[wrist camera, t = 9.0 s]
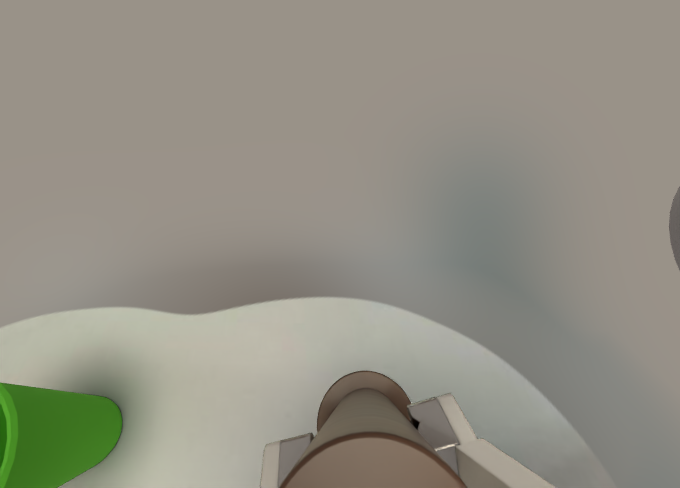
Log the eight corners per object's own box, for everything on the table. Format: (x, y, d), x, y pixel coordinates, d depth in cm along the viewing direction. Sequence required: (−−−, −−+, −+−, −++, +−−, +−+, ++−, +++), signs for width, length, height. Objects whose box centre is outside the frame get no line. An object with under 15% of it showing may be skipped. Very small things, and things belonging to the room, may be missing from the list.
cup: (44, 521, 24) (-189, 631, 14) (34, 401, 27) (-160, 419, 17) (157, 461, 25) (18, 523, 15) (135, 353, 28) (8, 343, 18)
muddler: (389, 359, 19) (464, 329, 5) (422, 448, 17) (684, 792, 3) (313, 386, 19) (167, 434, 5) (339, 480, 17) (224, 1006, 3)
